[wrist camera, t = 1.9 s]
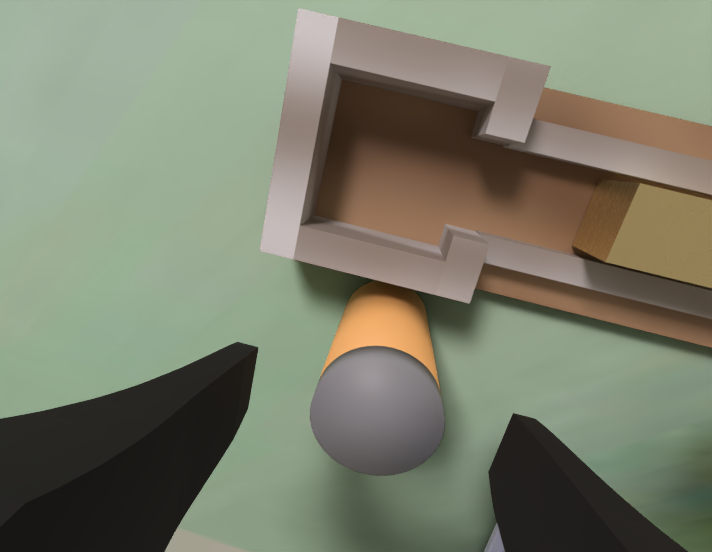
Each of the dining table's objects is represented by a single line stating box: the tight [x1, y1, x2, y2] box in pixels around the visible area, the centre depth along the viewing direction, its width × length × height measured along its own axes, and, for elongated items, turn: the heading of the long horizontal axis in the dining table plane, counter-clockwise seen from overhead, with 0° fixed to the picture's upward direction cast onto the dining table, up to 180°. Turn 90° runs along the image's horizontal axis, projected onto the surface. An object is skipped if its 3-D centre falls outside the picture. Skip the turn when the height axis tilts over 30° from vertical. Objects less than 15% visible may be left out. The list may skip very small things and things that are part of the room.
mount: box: [260, 8, 712, 348], centre depth 14 cm, size 8×21×3 cm, turn 77°
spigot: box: [310, 280, 445, 476], centre depth 14 cm, size 4×4×7 cm
